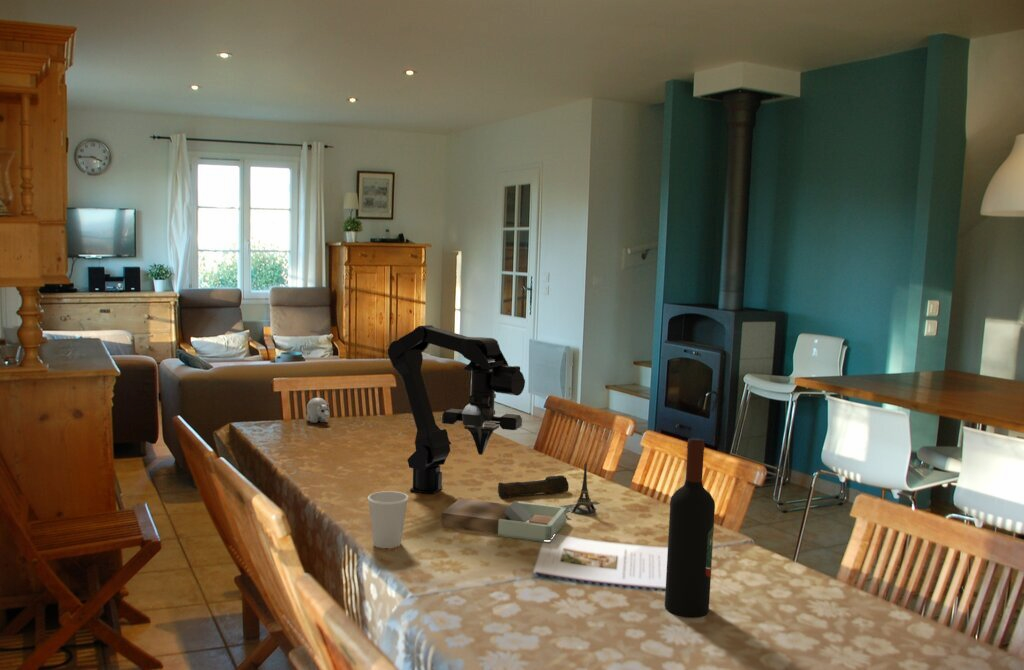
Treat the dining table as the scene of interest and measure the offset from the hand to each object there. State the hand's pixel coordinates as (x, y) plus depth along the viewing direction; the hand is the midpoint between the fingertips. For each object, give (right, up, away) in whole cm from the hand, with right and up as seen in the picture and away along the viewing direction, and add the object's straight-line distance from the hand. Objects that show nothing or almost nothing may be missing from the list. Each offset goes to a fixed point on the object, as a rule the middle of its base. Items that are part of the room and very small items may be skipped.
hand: (480, 454), depth 206 cm
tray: (+12, -14, -17) cm, 25 cm away
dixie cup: (-18, -15, -30) cm, 38 cm away
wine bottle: (+38, -19, -57) cm, 71 cm away
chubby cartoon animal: (-59, -2, +88) cm, 106 cm away
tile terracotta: (+14, -12, -18) cm, 26 cm away
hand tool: (+13, -12, +11) cm, 21 cm away
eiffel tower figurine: (+25, -14, -2) cm, 28 cm away
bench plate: (0, -13, -14) cm, 19 cm away
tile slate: (+8, -12, -16) cm, 21 cm away
